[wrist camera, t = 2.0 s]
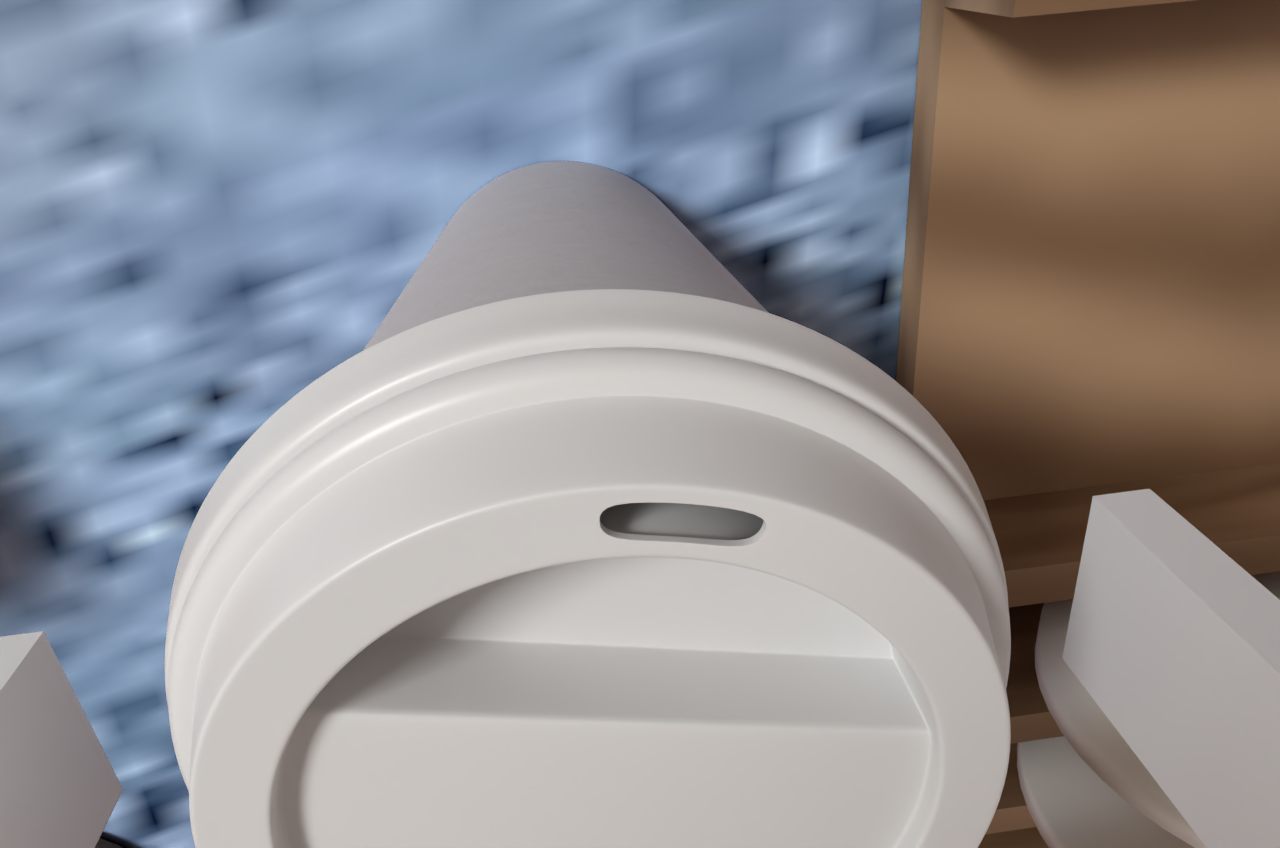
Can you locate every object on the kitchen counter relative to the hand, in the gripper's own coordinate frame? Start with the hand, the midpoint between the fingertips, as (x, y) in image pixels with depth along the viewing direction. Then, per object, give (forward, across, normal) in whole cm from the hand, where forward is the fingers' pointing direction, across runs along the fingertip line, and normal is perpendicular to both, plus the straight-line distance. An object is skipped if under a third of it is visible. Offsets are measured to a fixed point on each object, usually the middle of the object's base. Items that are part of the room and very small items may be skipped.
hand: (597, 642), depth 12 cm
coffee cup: (+12, 0, +1) cm, 12 cm away
